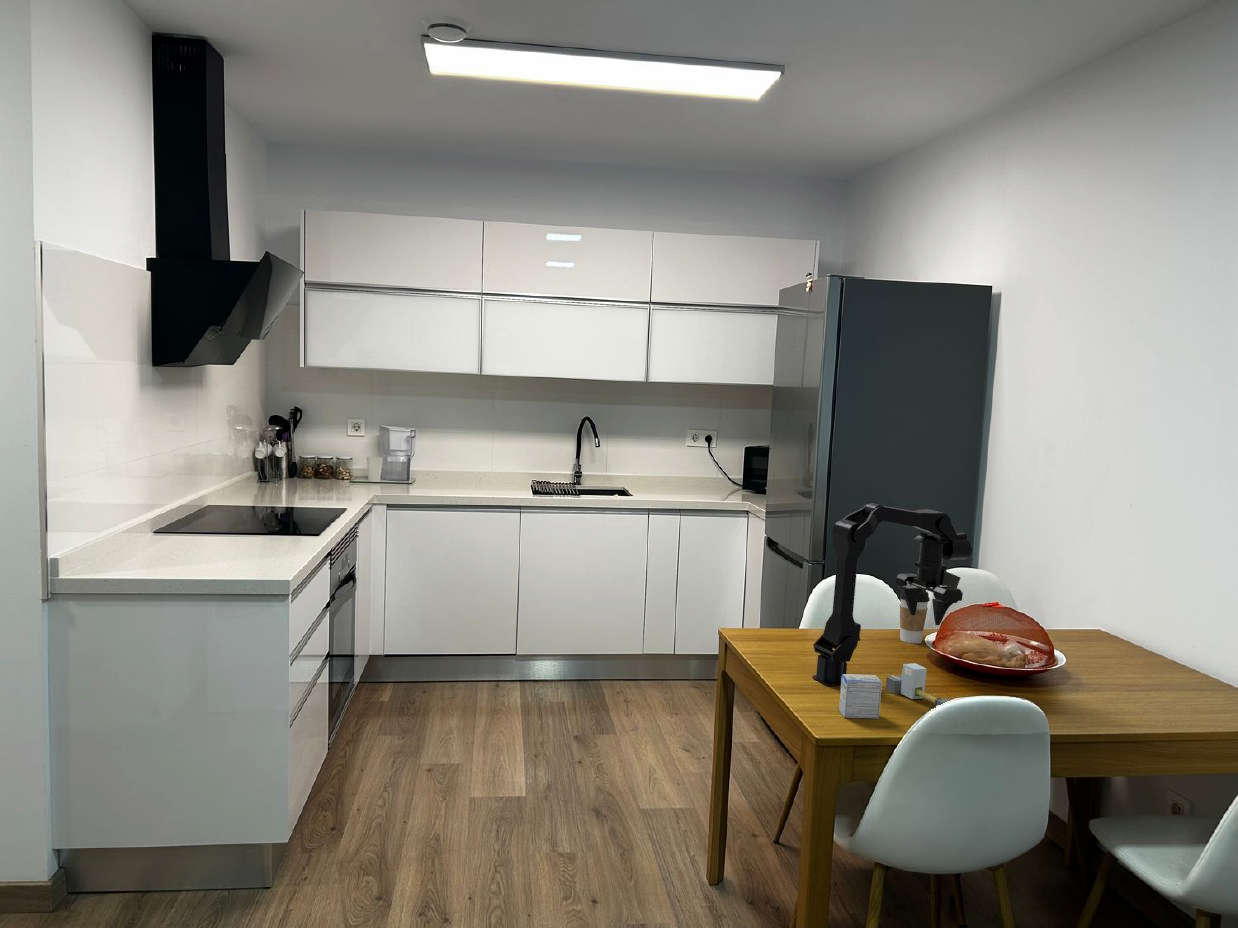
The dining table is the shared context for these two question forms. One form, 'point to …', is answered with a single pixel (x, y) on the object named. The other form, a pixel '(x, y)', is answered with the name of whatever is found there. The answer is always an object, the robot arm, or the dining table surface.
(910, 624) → the coffee cup
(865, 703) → the medicine box
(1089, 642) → the dining table surface
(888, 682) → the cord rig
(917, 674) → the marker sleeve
